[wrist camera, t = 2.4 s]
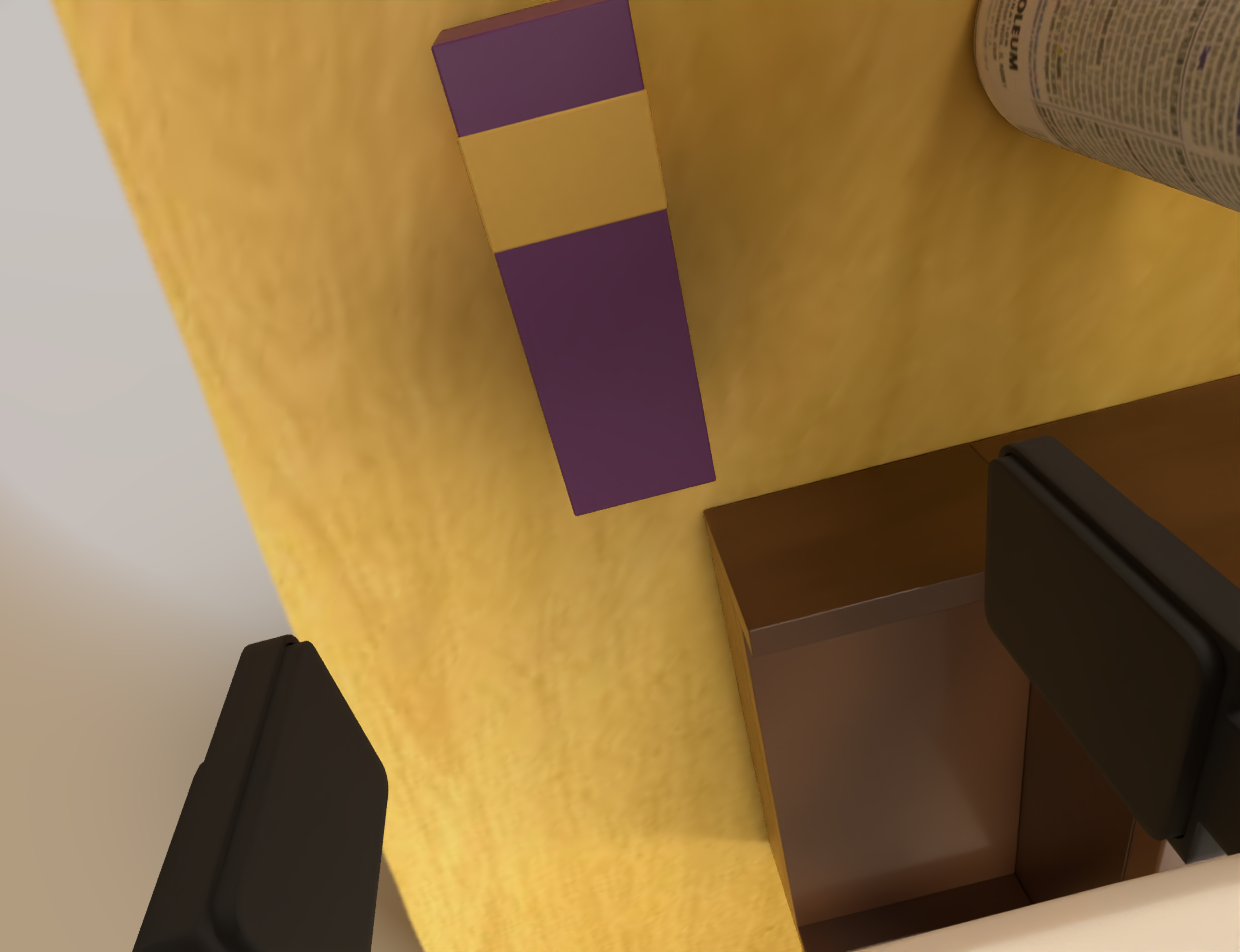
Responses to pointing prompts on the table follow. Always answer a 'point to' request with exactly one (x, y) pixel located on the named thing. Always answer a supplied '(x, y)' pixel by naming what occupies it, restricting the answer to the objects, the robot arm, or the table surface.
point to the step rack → (939, 679)
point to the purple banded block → (582, 241)
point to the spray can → (1122, 84)
